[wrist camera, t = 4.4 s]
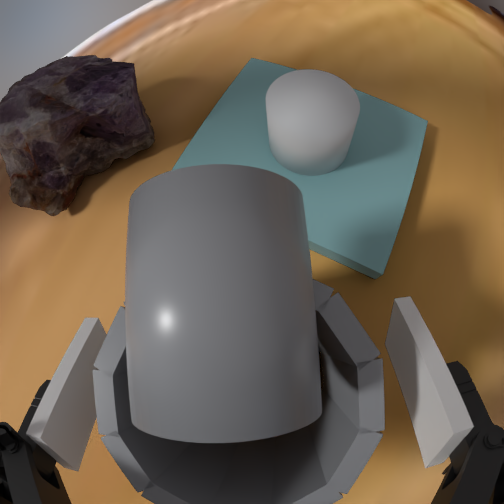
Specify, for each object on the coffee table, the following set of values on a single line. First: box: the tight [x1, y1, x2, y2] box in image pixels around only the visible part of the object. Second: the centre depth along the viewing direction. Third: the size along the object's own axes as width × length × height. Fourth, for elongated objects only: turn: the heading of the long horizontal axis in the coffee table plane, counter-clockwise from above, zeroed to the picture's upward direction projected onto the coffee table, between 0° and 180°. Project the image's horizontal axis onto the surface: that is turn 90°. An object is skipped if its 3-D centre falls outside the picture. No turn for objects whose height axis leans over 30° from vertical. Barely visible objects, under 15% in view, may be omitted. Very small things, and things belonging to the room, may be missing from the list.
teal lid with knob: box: [172, 58, 428, 279], centre depth 18 cm, size 14×12×6 cm
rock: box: [0, 55, 155, 216], centre depth 19 cm, size 12×9×10 cm
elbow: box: [93, 164, 385, 504], centre depth 12 cm, size 11×9×12 cm
